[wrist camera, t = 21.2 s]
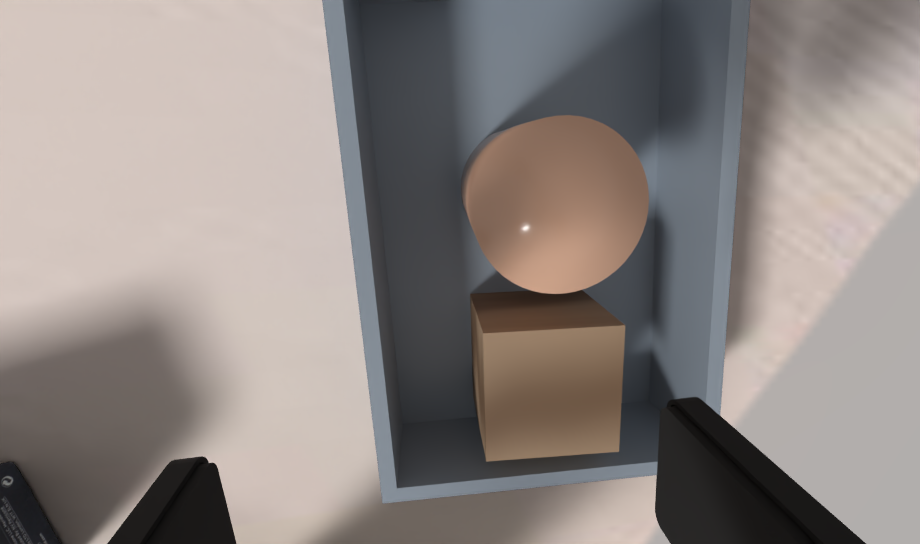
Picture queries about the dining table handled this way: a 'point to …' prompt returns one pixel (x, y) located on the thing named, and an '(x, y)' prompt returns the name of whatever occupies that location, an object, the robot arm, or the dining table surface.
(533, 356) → the walnut cube
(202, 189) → the dining table surface
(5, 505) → the small box
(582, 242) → the tan rounded smooth part
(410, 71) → the tote
